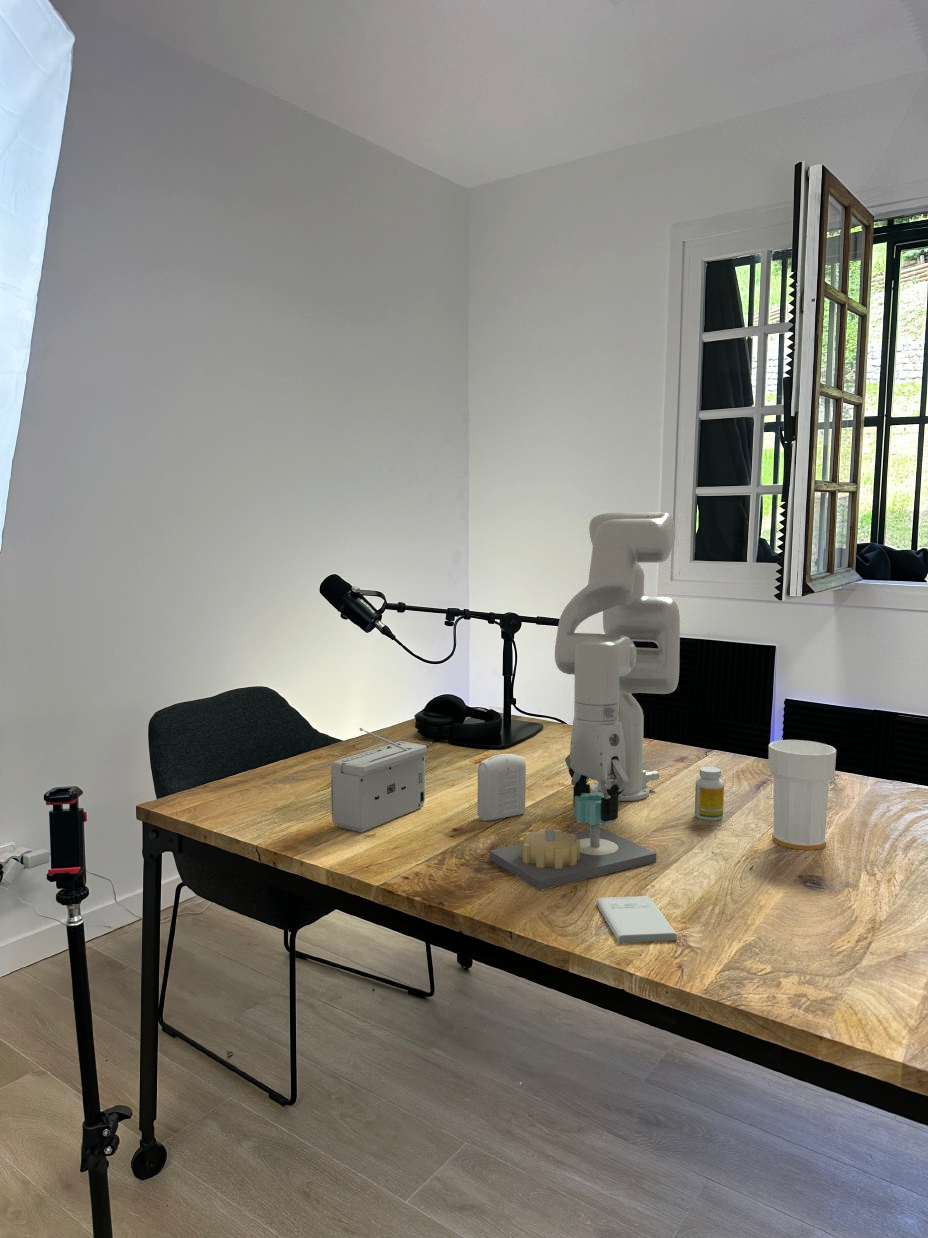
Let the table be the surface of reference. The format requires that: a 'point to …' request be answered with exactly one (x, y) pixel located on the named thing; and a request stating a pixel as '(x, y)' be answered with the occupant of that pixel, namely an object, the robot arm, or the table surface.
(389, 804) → the stereo radio cassette player
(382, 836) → the table surface
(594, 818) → the teal gear
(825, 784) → the cup
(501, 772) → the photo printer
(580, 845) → the gear board
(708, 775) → the supplement bottle
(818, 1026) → the table surface
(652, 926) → the external hard drive
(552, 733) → the table surface
